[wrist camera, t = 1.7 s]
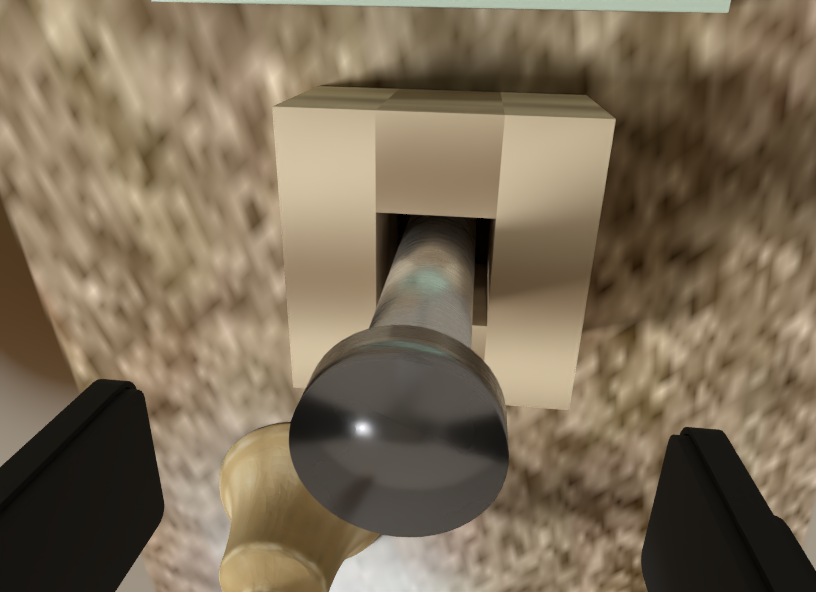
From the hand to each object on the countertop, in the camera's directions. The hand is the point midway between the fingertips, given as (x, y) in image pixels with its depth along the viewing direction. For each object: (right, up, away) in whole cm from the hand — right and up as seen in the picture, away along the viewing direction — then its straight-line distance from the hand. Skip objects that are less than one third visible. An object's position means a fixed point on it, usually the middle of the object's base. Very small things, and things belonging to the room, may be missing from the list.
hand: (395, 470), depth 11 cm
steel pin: (+2, +6, +11) cm, 13 cm away
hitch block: (+2, +6, +11) cm, 13 cm away
